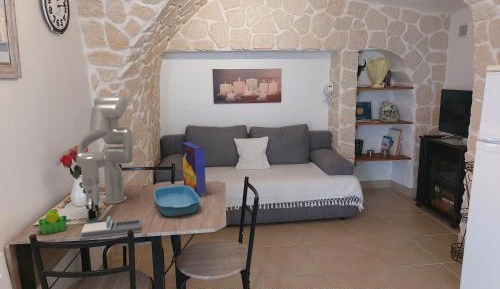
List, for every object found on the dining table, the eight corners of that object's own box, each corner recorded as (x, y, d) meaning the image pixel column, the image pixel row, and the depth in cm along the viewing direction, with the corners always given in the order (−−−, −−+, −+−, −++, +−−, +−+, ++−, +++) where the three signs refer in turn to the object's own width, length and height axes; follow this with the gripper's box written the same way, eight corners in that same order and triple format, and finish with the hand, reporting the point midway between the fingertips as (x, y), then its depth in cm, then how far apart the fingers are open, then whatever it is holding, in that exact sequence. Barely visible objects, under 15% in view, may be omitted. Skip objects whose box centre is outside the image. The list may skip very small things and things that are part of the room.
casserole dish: (204, 215, 180) (204, 202, 178) (160, 222, 172) (159, 208, 170) (189, 194, 213) (189, 183, 212) (152, 199, 205) (151, 187, 204)
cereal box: (184, 188, 224) (181, 142, 219) (192, 187, 227) (191, 141, 222) (196, 198, 206) (194, 148, 200) (206, 196, 209) (204, 147, 203)
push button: (102, 219, 176) (100, 200, 174) (102, 223, 171) (100, 203, 169) (87, 221, 173) (85, 202, 171) (87, 225, 168) (85, 205, 166)
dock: (85, 228, 165) (84, 224, 164) (141, 221, 172) (141, 217, 171) (79, 240, 153) (79, 235, 152) (141, 232, 159) (140, 228, 159)
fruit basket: (67, 225, 169) (65, 202, 167) (67, 231, 161) (65, 208, 159) (40, 229, 164) (37, 207, 162) (39, 237, 156) (36, 213, 154)
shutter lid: (84, 225, 163) (84, 217, 162) (112, 222, 166) (111, 214, 165) (81, 233, 154) (80, 225, 153) (110, 230, 157) (109, 222, 157)
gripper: (96, 185, 161) (99, 220, 164) (101, 176, 177) (104, 208, 180) (79, 186, 159) (82, 222, 162) (85, 177, 175) (88, 209, 178)
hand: (93, 214), depth 171 cm, fingers open, 9 cm apart
